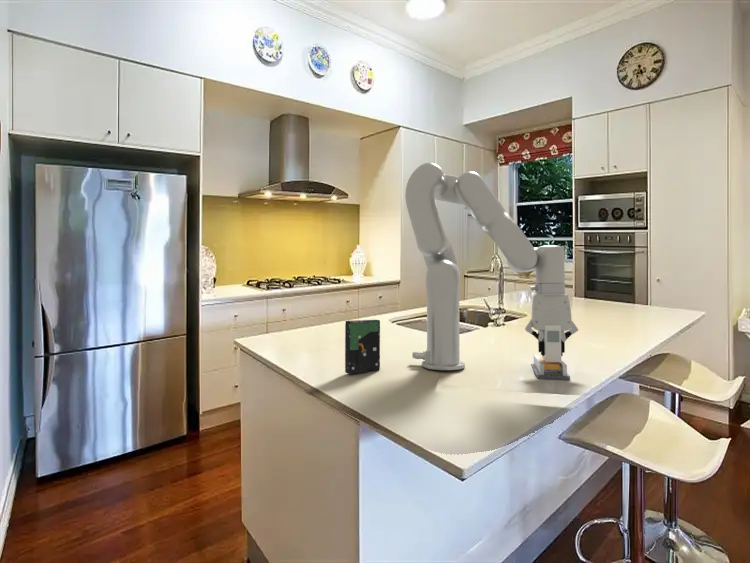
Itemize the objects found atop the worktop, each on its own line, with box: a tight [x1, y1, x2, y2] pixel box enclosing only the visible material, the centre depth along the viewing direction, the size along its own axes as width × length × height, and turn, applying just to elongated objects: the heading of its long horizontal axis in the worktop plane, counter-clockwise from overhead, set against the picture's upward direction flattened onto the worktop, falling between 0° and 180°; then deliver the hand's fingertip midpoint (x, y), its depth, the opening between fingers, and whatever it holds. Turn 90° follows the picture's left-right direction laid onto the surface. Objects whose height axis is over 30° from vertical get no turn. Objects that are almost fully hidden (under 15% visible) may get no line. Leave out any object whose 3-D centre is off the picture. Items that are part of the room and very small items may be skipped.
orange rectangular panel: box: [539, 357, 560, 370], centre depth 124 cm, size 4×11×1 cm, turn 166°
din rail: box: [530, 354, 571, 381], centre depth 124 cm, size 8×16×4 cm, turn 166°
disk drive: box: [344, 319, 381, 375], centre depth 126 cm, size 10×3×15 cm, turn 120°
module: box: [541, 325, 562, 362], centre depth 124 cm, size 4×7×10 cm, turn 166°
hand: (551, 354), depth 124 cm, fingers closed on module, 4 cm apart
